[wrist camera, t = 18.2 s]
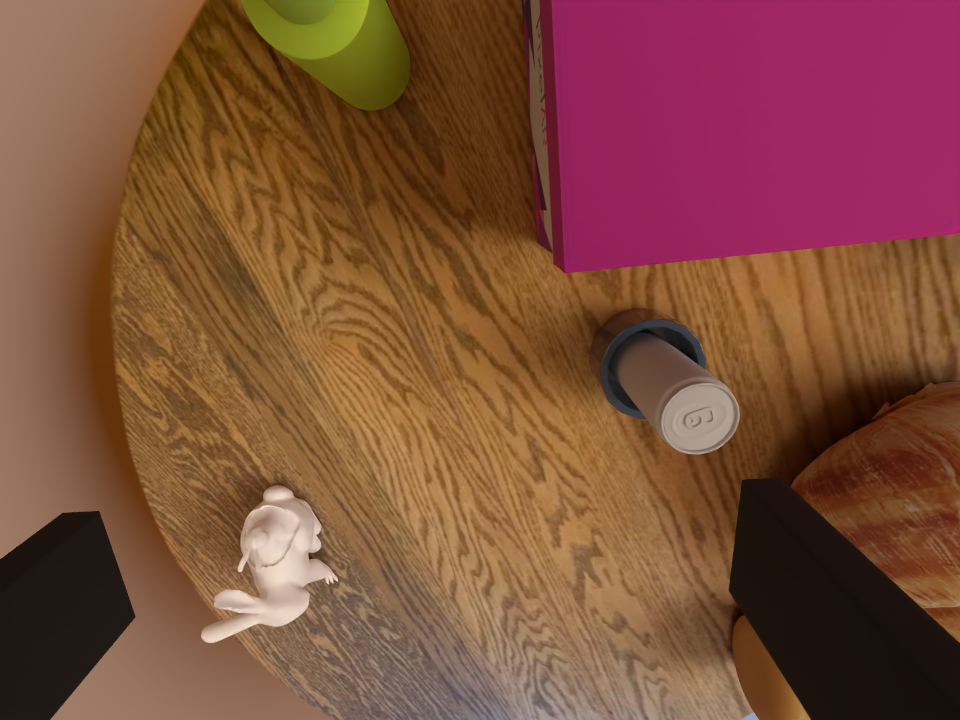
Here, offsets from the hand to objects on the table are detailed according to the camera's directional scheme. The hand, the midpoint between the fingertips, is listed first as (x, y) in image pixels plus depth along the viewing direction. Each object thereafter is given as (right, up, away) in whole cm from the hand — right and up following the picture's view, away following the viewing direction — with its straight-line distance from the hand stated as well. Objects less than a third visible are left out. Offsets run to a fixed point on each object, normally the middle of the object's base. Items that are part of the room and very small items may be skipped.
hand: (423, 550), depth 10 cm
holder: (+14, +4, +30) cm, 34 cm away
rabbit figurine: (-17, -12, +36) cm, 41 cm away
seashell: (+36, -5, +33) cm, 49 cm away
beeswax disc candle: (+28, -23, +39) cm, 53 cm away
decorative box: (+14, +23, +25) cm, 36 cm away
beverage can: (+14, +4, +30) cm, 33 cm away
